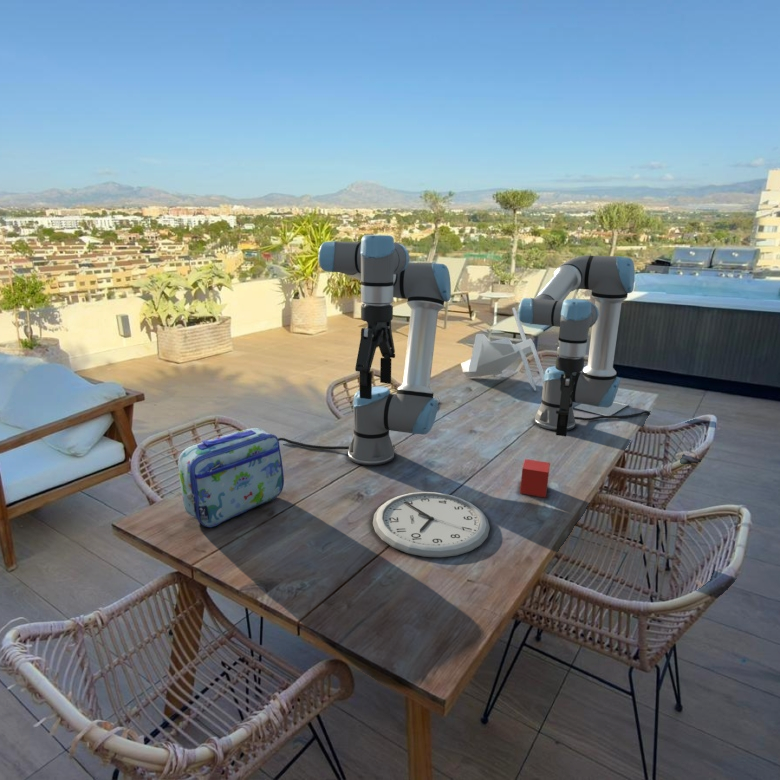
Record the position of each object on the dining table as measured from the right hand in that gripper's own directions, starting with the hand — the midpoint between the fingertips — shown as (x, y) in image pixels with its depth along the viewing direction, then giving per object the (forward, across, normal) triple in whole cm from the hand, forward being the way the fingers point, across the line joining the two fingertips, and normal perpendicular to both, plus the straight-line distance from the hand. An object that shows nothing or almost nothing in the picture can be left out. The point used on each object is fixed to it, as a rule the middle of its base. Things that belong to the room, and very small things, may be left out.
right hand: (562, 426), depth 152 cm
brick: (+18, +7, -6) cm, 20 cm away
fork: (+19, -54, -53) cm, 78 cm away
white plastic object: (+20, -98, -32) cm, 105 cm away
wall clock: (+18, +36, -29) cm, 49 cm away
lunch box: (+17, +48, -79) cm, 95 cm away
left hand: (-17, +36, -44) cm, 59 cm away
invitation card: (+19, -82, +14) cm, 85 cm away
